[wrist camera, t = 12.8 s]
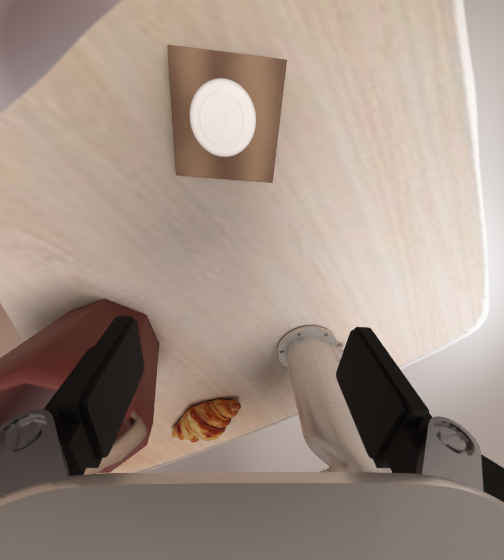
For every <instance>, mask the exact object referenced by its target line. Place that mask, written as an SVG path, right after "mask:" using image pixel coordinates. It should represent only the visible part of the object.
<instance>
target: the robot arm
mask: <svg viewBox="0 0 504 560" xmlns="http://www.w3.org/2000/svg"><path fill="white" fill-rule="evenodd" d="M337 347H338V346H337V341H336V339H335V337H334V335H333V334H332V333H331V332H330V331H329V330H327V329H325V328H323V327H318V326H304V327H300V328H297V329H295V330H292V331H291V332H289V333H288V334H286V335H285V336H284V337H283V338H282V340H281V341H280V343H279V344H278V348H277V354H278V359H279V361H280V362H281V364H282V365H283V366H285V367H286V368H288V370H289V374H290V379H291V383H292V388H293V392H294V397H295V401H296V405H297V410H298V414H299V419H300V423H301V427H302V432H303V436H304V439H305V441H306V443H307V444H308V446H309V448H310V449H311V450H312V451H313V453H314V454H316V455H317V456H318V457H319V458H320V459H321V460H322V461H323V462H325V463H326V464H327V465H328V466H329V468H328V469H326V470H323V471H320V472H158V473H157V472H149V473H148V472H146V473H106V474H89V475H84V473H85V470H86V468H99V465H100V463H101V461H102V459H103V458H106V457H107V456H108V455H109V453H110V451H111V449H112V446H113V444H114V442H115V439H116V437H117V434H118V432H119V430H120V427H121V425H122V423H123V420H124V418H125V416H126V413H127V411H128V408H129V406H130V404H131V401H132V399H133V397H134V394H135V392H136V390H137V387H138V385H139V382H140V380H141V378H142V375H143V373H144V359H143V353H142V346H141V340H140V333H139V327H138V321H137V320H134V319H133V317H132V316H119V315H118V316H116V317H115V318H114V320H113V321H112V322H111V324H110V325H109V327H108V328H107V329H106V331H105V332H104V334H103V335H102V336H101V338H100V339H99V340H98V342H97V343H96V345H95V346H94V347H91V348H89V349H88V350H87V351H86V353H85V354H84V355H83V357H82V358H81V359H80V361H79V362H78V363H77V365H76V366H75V367H74V369H73V370H72V371H71V373H70V374H69V375H68V377H67V378H66V379H65V381H64V382H63V384H62V385H61V386H60V388H59V389H58V390H57V392H56V393H55V394H54V396H53V397H52V398H51V400H50V401H49V402H48V404H47V405H46V406H45V408H44V409H34V410H29V411H26V412H23V413H20V414H18V415H16V416H15V417H13V418H11V419H9V420H8V421H7V422H5V423H4V424H3V425H1V426H0V560H504V468H502V467H501V466H499V465H498V464H496V463H494V462H493V461H491V460H489V459H488V458H486V457H485V456H483V455H481V451H480V447H479V445H478V443H477V442H476V440H475V439H474V438H473V436H472V435H471V434H470V433H469V432H468V431H467V430H466V429H465V428H463V427H462V426H461V425H459V424H458V423H456V422H454V421H452V420H450V419H448V418H444V417H433V418H432V416H431V415H430V413H429V410H428V408H427V407H426V405H425V404H424V403H423V401H422V400H421V398H420V397H419V396H418V394H417V393H416V391H415V390H414V389H413V387H412V386H411V384H410V383H409V381H408V380H407V379H406V377H405V376H404V375H403V373H402V372H401V370H400V369H399V367H398V366H397V365H396V363H395V362H394V360H393V359H392V358H391V356H390V355H389V353H388V352H387V350H386V349H385V348H384V346H383V345H382V343H381V342H380V341H379V339H378V338H377V336H376V335H375V334H374V332H373V331H372V329H371V328H367V327H356V328H355V329H354V330H352V331H351V332H350V335H349V337H348V340H347V343H346V346H345V349H344V351H339V350H337ZM340 357H341V358H340ZM388 468H390V469H391V471H392V473H391V472H390V470H389V469H388Z"/></svg>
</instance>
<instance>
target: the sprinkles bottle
mask: <svg viewBox="0 0 504 560" xmlns="http://www.w3.org/2000/svg"><path fill="white" fill-rule="evenodd" d="M190 124H191V128H192V131H193V134H194V136H195V138H196V140H197V141H198V142H199V144H200V145H201V146H202V147H203V148H204V149H205V150H207V151H208V152H210V153H211V154H214V155H216V156H221V157H230V156H233V155H236V154H238V153H240V152H241V151H243V150H244V149H245V148H246V147H247V146H248V144H249V143H250V141H251V140H252V137H253V135H254V132H255V127H256V113H255V108H254V105H253V102H252V100H251V98H250V96H249V95H248V93H247V92H246V91H245V89H244V88H243V87H241V86H240V85H239V84H237V83H236V82H234V81H232V80H229V79H224V78H218V79H213V80H210V81H208V82H206V83H205V84H203V85H202V86H201V87H200V88H199V89H198V90H197V92H196V93H195V95H194V97H193V100H192V102H191V106H190Z"/></svg>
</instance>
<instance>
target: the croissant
mask: <svg viewBox="0 0 504 560" xmlns="http://www.w3.org/2000/svg"><path fill="white" fill-rule="evenodd" d="M240 408H241V405H240V403H239V402H237V401H233V400H231V401H230V400H223V399H216V400H214V401H207V402H204V403H201V404H200V405H197V406H194V407H192V408H191V409H189V410H188V411H187V412H186V413H185V414H184V416H183V417H182V418H181V419H180V420H179V422H178V424H176V425H175V427H174V428H173V430H172V437H177V438H178V439H180V440H183V439H188V440H189V441H191V442H196V441H198V440H199V438H200V439H202V440H205V441H208V440H214V439H216V438H218V437H219V435H221V434H223V432H224V431H225V428H226V426H227V425H229V423H230V422H231V418H233V417H234V416H235V415H236V414H237V412H238V410H239V409H240Z"/></svg>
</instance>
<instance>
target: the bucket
mask: <svg viewBox="0 0 504 560" xmlns="http://www.w3.org/2000/svg"><path fill="white" fill-rule="evenodd" d="M118 315H119V316H132V317H133V319H134V320H137V321H138V327H139V333H140V340H141V346H142V353H143V359H144V373H143V375H142V378H141V380H140V382H139V385H138V387H137V390H136V392H135V394H134V397H133V399H132V401H131V404H130V406H129V408H128V411H127V413H126V416H125V418H124V420H123V423H122V425H121V427H120V430H119V432H118V434H117V437H116V439H115V442H114V444H113V446H112V449H111V451H110V453H109V455H108V456H107V457H106V458H103V459H102V461H101V463H100V465H99V468H86V470H85V473H84V475H89V474H96V473H103V472H111V471H112V470H114V469H115V468H117V467H118V466H119V465H121V464H122V463H123V462H125V461H126V460H127V459H129V458H130V457H131V456H133V455H134V454H135V453H137V452H138V451H139V450H141V449H142V448H143V447H145V446H146V445H147V443H148V439H149V435H150V432H151V428H152V425H153V415H154V402H155V389H156V377H157V364H158V351H159V342H158V340H157V338H156V336H155V333H154V331H153V329H152V326H151V324H150V322H149V320H148V317H147V315H145V314H143V313H140V312H138V311H135V310H132V309H130V308H127V307H125V306H122V305H119V304H117V303H114V302H112V301H109V300H107V299H103V300H100V301H97V302H94V303H92V304H89V305H86V306H83V307H81V308H78V309H75V310H72V311H69V312H68V313H66V314H65V315H63V316H62V317H60V318H59V319H57V320H56V321H54V322H53V323H51V324H50V325H49V326H47V327H46V328H44V329H43V330H41V331H40V332H38V333H37V334H35V335H34V336H32V337H31V338H29V339H28V340H26V341H25V342H23V343H22V344H21V345H19V346H18V347H16V348H15V349H13V350H12V351H10V352H9V353H7V354H6V355H4V356H3V357H1V358H0V426H1V425H3V424H4V423H5V422H7V421H8V420H9V419H11V418H13V417H15V416H16V415H18V414H20V413H23V412H26V411H29V410H34V409H44V408H45V406H46V405H47V404H48V402H49V401H50V400H51V398H52V397H53V396H54V394H55V393H56V392H57V390H58V389H59V388H60V386H61V385H62V384H63V382H64V381H65V379H66V378H67V377H68V375H69V374H70V373H71V371H72V370H73V369H74V367H75V366H76V365H77V363H78V362H79V361H80V359H81V358H82V357H83V355H84V354H85V353H86V351H87V350H88V349H89V348H91V347H94V346H95V345H96V343H97V342H98V340H99V339H100V338H101V336H102V335H103V334H104V332H105V331H106V329H107V328H108V327H109V325H110V324H111V322H112V321H113V320H114V318H115V317H116V316H118Z"/></svg>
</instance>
